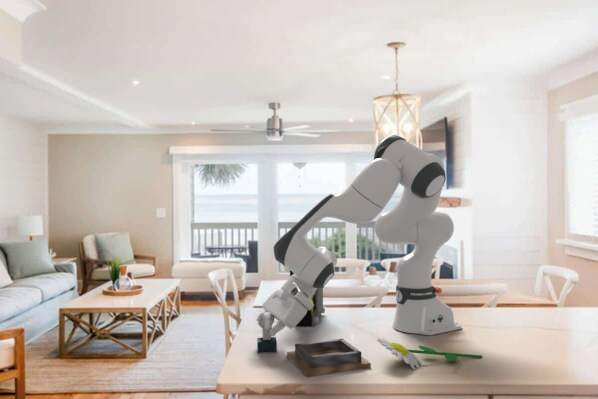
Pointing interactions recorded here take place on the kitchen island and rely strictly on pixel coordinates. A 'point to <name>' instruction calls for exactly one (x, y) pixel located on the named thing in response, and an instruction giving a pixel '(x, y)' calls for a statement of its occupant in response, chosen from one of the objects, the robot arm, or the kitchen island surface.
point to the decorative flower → (411, 358)
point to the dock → (327, 357)
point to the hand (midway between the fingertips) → (264, 330)
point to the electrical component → (313, 309)
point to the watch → (266, 334)
